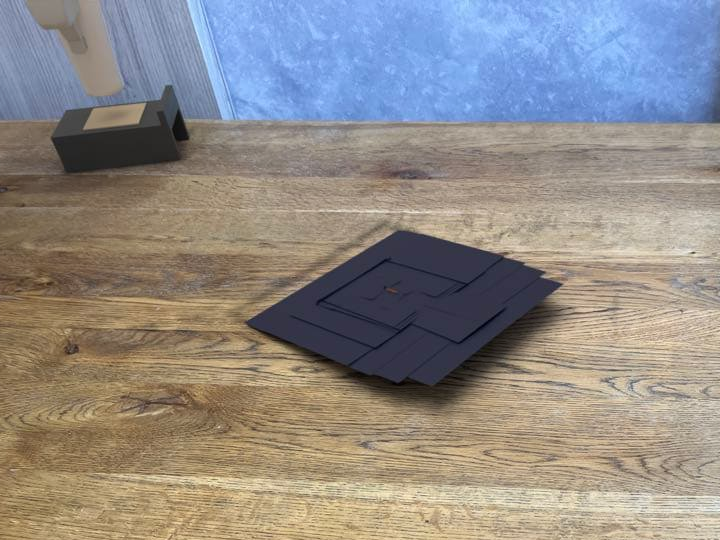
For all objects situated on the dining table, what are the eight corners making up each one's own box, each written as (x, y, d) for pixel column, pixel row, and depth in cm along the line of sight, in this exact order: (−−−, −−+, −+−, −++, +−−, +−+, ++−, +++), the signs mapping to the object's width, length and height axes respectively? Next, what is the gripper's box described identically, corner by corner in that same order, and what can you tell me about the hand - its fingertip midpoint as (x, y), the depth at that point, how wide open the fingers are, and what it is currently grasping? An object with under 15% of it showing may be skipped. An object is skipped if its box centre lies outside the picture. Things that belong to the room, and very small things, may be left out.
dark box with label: (68, 178, 119) (43, 123, 113) (83, 149, 126) (60, 96, 121) (182, 164, 121) (163, 110, 115) (189, 136, 128) (172, 84, 123)
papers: (424, 420, 76) (415, 389, 74) (238, 338, 93) (226, 310, 90) (577, 297, 90) (573, 268, 88) (392, 244, 106) (385, 219, 104)
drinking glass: (73, 91, 117) (25, -23, 107) (120, 78, 120) (77, -34, 110) (91, 104, 113) (43, -13, 103) (138, 90, 117) (96, -25, 107)
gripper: (35, -87, 110) (78, 21, 120) (-8, -49, 95) (45, 71, 105) (84, -91, 111) (123, 17, 120) (49, -54, 96) (96, 66, 105)
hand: (86, 43), depth 112 cm, fingers closed on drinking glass, 6 cm apart
